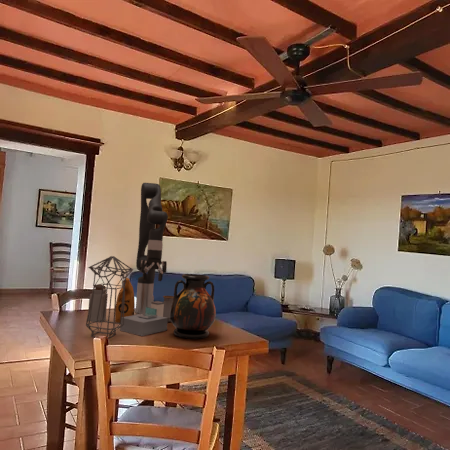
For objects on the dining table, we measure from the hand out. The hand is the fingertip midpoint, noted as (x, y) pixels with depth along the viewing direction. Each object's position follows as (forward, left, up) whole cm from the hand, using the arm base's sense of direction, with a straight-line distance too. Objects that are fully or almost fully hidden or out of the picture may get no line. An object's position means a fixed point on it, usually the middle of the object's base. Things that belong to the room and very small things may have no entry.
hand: (152, 280), depth 206 cm
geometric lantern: (+32, +4, -22) cm, 39 cm away
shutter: (+11, +8, -16) cm, 20 cm away
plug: (-3, +2, -22) cm, 22 cm away
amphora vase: (+3, +29, -22) cm, 36 cm away
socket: (+12, +8, -22) cm, 26 cm away
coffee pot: (-17, +4, -22) cm, 28 cm away
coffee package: (+6, -12, -22) cm, 26 cm away
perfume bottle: (+15, -22, -22) cm, 35 cm away
